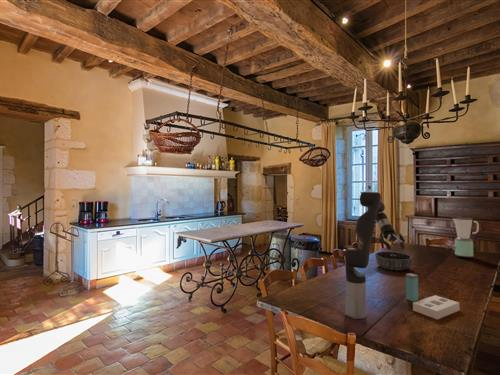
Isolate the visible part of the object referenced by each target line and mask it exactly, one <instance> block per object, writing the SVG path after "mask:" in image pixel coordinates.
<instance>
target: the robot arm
mask: <svg viewBox="0 0 500 375" xmlns="http://www.w3.org/2000/svg"><path fill="white" fill-rule="evenodd" d="M381 200H382V196H381V193H380V192H378V191H367V190H365V191H362V192H361V193H360V195H359V203H360V205H361V206H362V207H365V208H367V210H366V211H365V212H364V213H362V214H361V215H360V216H359V217H358V219H357V220H356V225H355V233H356V235H357V237H358V238H359V241H360V242H361V244H362V248H355V247H354V248H352V247H347V249H345V252H344V263H345V264H344V265H345V277H346V278H345V279H346V282H345V285H346V287H345V288H346V295H345V296H344V299H345V300H344V301H345V302H344V303H345V304H344V305H345V307H344V308H345V309H344V310H345V311H344V312H345V316H347V317H350V318H352V319H354V320H358V319H359V320H360V319H365V318H366V317H367V280H366V279H367V278H366V275H365V274H364V273H361V272H360V271H358V270H357V269H356V268H359V269H366V268H367V267H368V265H369V261H370V254H371V245H372V239H373V236H374V231H375V227H376V226H375V225H376V223H377V225H378V228H379V230H380V233H381V234H379V236H378V240H379V241H380V243H381V245H385V247H386V249H387V250H388V251H391V249H392V248H391V245H390V243H389V242H395V243H397V244H399V246H400V249H401V250H405V248H406V247H405V244H404V243H406V239H405V238H404V236H403V235H402V233H398V234H397V233H396V231H395V229H394V227H393V224H392V223H391V221H390V220H389V218H388V216H387V214H386V213H385V212H383V211H385V209H386V207H385V204H384V203H383V202H382V201H381Z"/></svg>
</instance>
